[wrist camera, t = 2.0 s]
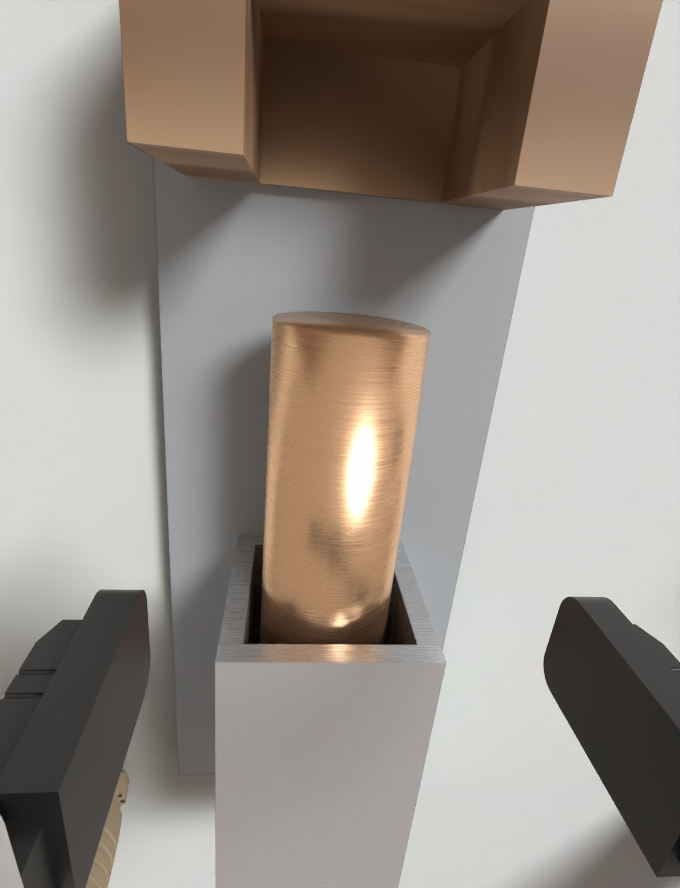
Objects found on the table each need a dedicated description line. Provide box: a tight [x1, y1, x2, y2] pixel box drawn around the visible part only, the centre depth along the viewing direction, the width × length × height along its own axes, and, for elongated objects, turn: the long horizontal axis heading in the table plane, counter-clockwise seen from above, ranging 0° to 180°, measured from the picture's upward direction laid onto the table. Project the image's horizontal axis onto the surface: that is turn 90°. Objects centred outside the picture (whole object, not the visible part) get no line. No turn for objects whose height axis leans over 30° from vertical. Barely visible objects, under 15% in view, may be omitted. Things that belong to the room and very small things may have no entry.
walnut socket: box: [119, 0, 663, 210], centre depth 12 cm, size 6×10×6 cm, turn 85°
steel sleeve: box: [215, 534, 446, 888], centre depth 20 cm, size 12×7×7 cm, turn 175°
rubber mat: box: [153, 157, 535, 775], centre depth 20 cm, size 34×12×1 cm, turn 175°
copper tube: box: [260, 311, 431, 645], centre depth 18 cm, size 18×4×4 cm, turn 175°
